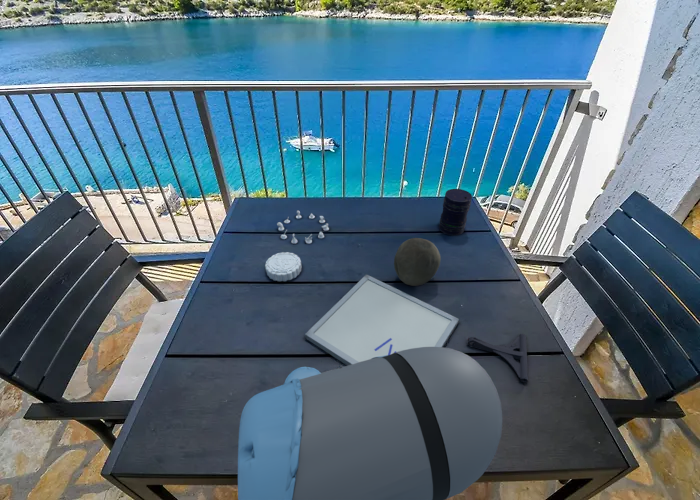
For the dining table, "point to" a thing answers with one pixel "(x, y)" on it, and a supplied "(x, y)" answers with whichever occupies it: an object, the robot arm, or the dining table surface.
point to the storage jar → (455, 211)
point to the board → (379, 323)
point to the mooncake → (283, 266)
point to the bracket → (508, 353)
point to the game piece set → (308, 240)
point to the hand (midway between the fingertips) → (459, 418)
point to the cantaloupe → (416, 261)
